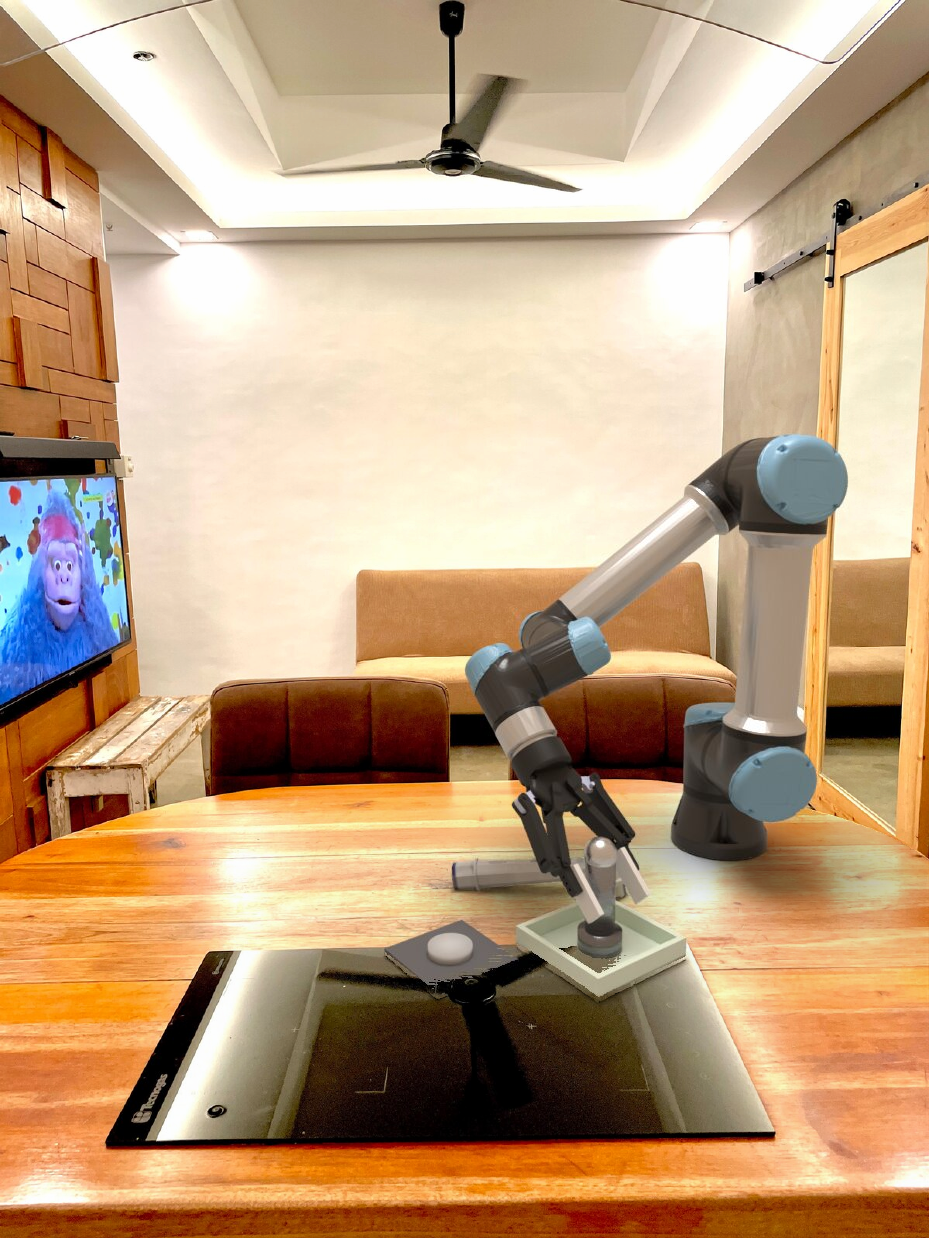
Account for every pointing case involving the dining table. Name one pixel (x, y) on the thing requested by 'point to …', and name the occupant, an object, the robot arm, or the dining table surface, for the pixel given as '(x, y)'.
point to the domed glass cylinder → (601, 901)
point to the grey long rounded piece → (509, 874)
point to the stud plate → (448, 953)
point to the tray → (640, 943)
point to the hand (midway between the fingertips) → (620, 908)
